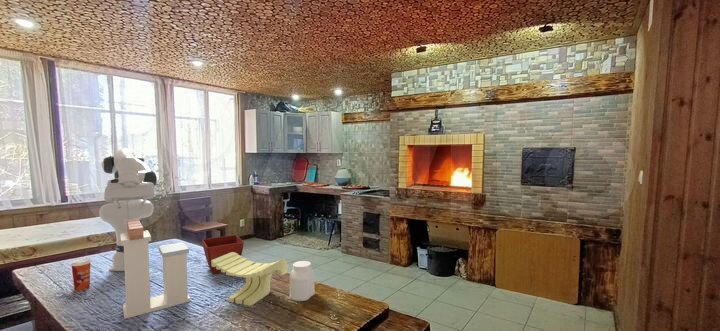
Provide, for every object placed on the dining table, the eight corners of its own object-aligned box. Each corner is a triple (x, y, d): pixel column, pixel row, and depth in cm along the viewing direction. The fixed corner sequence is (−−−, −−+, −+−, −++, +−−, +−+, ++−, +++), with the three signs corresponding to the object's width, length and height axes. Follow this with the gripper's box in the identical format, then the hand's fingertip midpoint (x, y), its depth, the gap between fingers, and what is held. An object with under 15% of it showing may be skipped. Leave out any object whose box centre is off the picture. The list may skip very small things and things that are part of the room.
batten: (127, 229, 145) (126, 219, 145) (138, 228, 148) (138, 218, 148) (130, 240, 127) (129, 229, 126) (143, 238, 129) (143, 227, 129)
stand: (122, 306, 139) (120, 233, 137) (184, 290, 154) (182, 225, 152) (124, 319, 128) (121, 240, 126) (190, 301, 143) (188, 231, 141)
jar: (304, 302, 141) (304, 269, 140) (286, 299, 144) (286, 266, 144) (317, 292, 151) (317, 261, 151) (300, 288, 155) (299, 258, 154)
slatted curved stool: (287, 293, 150) (287, 256, 149) (266, 309, 135) (266, 268, 134) (236, 284, 160) (235, 250, 160) (212, 298, 145) (211, 260, 145)
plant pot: (244, 270, 180) (244, 241, 179) (208, 278, 169) (207, 247, 168) (236, 261, 195) (236, 234, 195) (202, 268, 185) (201, 239, 184)
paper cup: (80, 292, 153) (78, 263, 152) (67, 291, 154) (66, 262, 154) (96, 285, 160) (95, 258, 160) (84, 284, 162) (83, 257, 161)
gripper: (153, 185, 169) (155, 207, 163) (104, 188, 156) (104, 212, 150) (154, 178, 165) (156, 200, 159) (103, 180, 152) (104, 205, 146)
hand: (131, 206), depth 154 cm, fingers open, 8 cm apart
